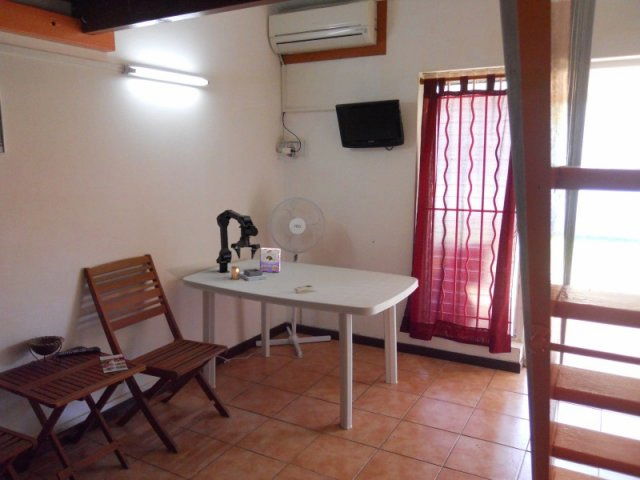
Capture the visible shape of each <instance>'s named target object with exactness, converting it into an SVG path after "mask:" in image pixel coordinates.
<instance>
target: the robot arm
mask: <svg viewBox="0 0 640 480" xmlns="http://www.w3.org/2000/svg"><path fill="white" fill-rule="evenodd" d="M232 219H233V220H235V221H237V223H238V224H239V226H238V228H239V229H240V236H239V240H238V241H237V242H233V243H231V244H230V247H229V233H228V231H229V230H228V227H229V226H230V220H232ZM216 224H217V226H218V227H219V236H220V250H219V252H218V257H217V258H216V260H215V261H216V264H219V269H217V272H219V273H221V274H222V273H231V271H230V270H229V269H228V268H229V267H228V266H229V264H230V263H232V262H231V261H232V258H233V254H232V253H233V251H232V250H234V251H235V252H236V255H237V258H238V259H239V260H240V259H241V249H244V248H250V252H251V256H250V257H251V260H253V259H254V257H255V255H256V253H257V252H258V251H257V250H259V249H261V244H260V243H251V242H250V241H251V238H252V237H257V236H258V235H259V230H258V228H257V226H256V225H255V224H254V222H253V220H252V217H251V216H250V215H246V214H241V213H238V212H236V211H235V210H233V209H225V210H224V211H223V212H221V213H219V214H218V215H217V217H216ZM229 248H230V249H232V250H230V249H229Z"/></svg>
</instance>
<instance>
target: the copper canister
mask: <svg viewBox="0 0 640 480" xmlns="http://www.w3.org/2000/svg"><path fill="white" fill-rule="evenodd" d="M230 270H231V271H230V273H231V274H230V276H231V277H230V279H231V280H232V281H237V280H240V276H239V272H240V266H237V265H234V266H233V265H232V266H231V268H230Z"/></svg>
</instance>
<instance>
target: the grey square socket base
mask: <svg viewBox="0 0 640 480" xmlns="http://www.w3.org/2000/svg"><path fill="white" fill-rule="evenodd" d="M239 278H242V279H244V280H246V281H248V282H250V281H251V282H252V281H259V280H267V275H265V274H263V272H262V271H261V270H260V268H259V269H258V268H247V269H243V271H239Z"/></svg>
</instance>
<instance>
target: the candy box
mask: <svg viewBox="0 0 640 480" xmlns="http://www.w3.org/2000/svg"><path fill="white" fill-rule="evenodd" d="M259 250H260V251H259V254H260V255H259V270H261V271H262V273H280V272H281V254H282V253H281V251H282V249H281V248H277V247H260V248H259Z"/></svg>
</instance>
